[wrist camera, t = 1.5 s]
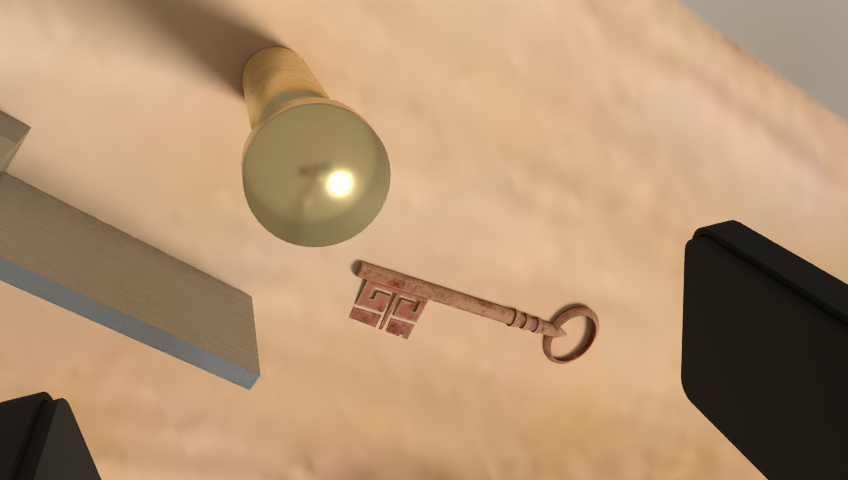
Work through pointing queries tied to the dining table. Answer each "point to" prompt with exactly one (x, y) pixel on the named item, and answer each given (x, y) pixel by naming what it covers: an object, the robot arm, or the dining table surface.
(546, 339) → the key
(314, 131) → the hinge pin
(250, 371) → the bracket
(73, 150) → the dining table surface
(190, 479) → the dining table surface
